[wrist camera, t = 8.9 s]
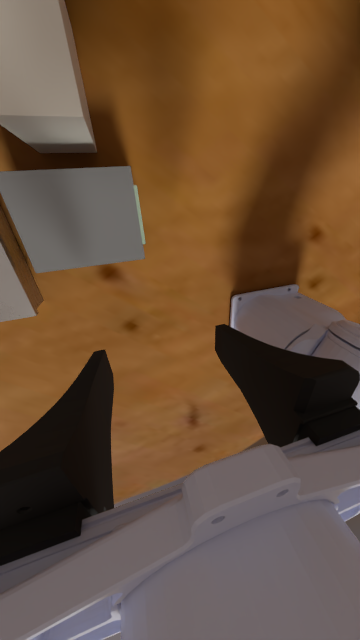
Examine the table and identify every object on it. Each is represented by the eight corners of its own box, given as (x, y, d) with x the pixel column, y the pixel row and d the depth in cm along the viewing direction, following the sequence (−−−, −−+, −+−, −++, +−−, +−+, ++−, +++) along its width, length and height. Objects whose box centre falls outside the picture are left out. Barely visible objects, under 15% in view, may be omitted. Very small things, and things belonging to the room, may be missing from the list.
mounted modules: (68, -230, 9) (37, -492, 6) (143, 249, 20) (148, 258, 16) (-168, -303, 8) (-404, -725, 4) (51, 261, 18) (35, 273, 15)
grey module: (71, 29, 12) (29, -135, 7) (97, 152, 15) (83, 116, 10) (-7, 21, 12) (-139, -176, 6) (35, 153, 15) (-22, 114, 9)
